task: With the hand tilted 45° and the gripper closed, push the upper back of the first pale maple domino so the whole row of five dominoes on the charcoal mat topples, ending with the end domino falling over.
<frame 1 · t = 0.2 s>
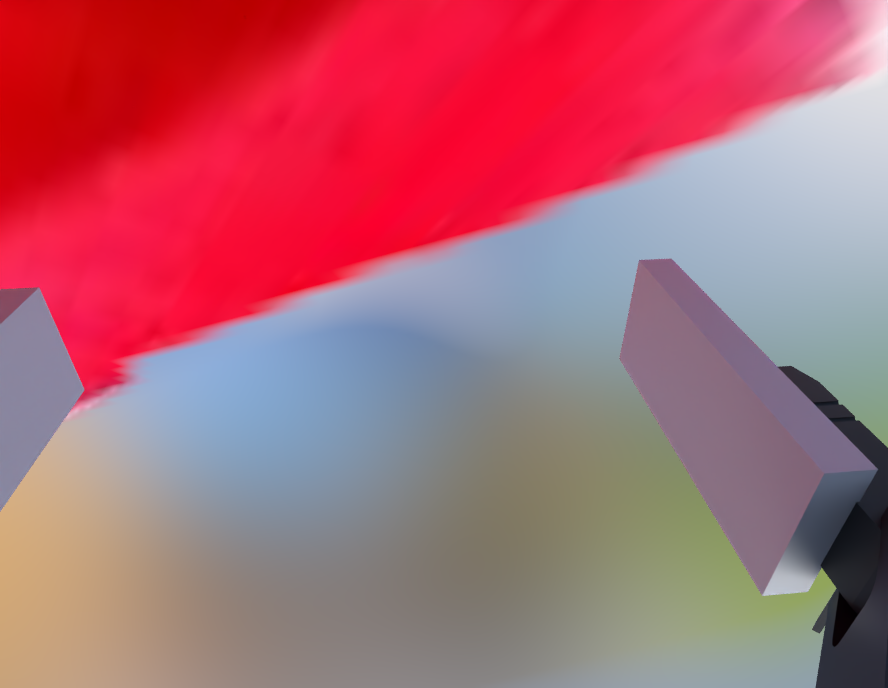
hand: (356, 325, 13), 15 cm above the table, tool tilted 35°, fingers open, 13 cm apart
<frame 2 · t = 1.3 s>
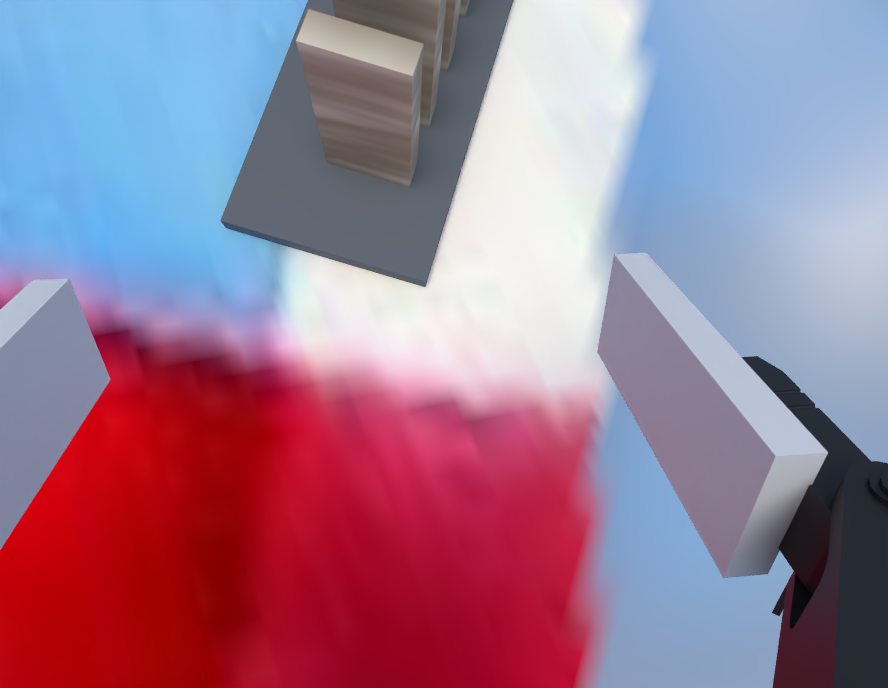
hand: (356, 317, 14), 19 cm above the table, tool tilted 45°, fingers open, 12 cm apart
domino 3: (411, 49, 35), point 1 cm above the table, touching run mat
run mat: (400, 42, 37), on the table
domino 1: (372, 163, 34), point 1 cm above the table, touching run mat
domino 2: (392, 104, 35), point 1 cm above the table, touching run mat
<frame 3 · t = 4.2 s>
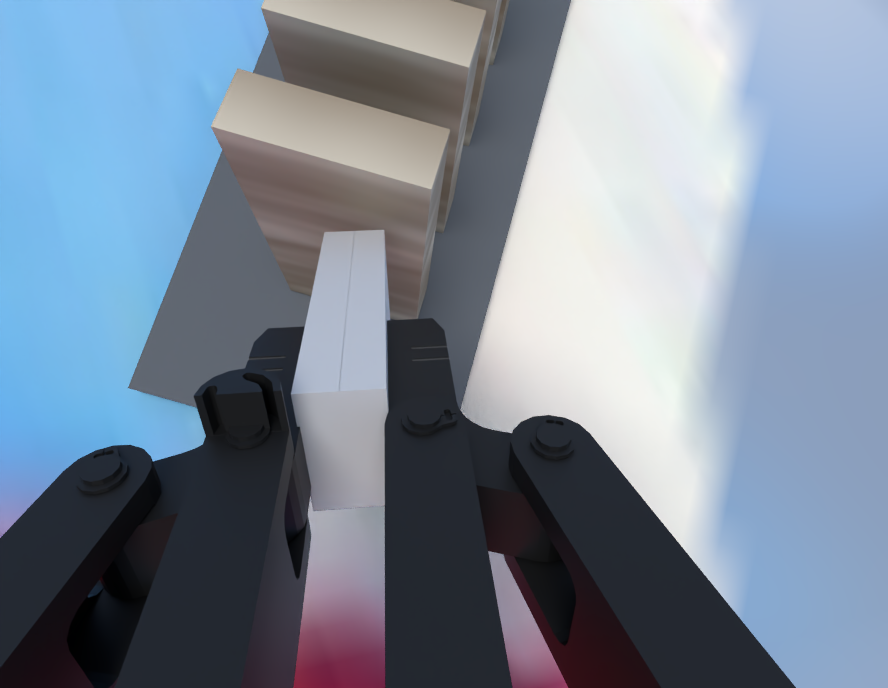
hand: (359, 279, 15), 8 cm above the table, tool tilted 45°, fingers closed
domino 3: (416, 113, 24), point 1 cm above the table, touching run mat
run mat: (400, 100, 25), on the table
domino 4: (441, 33, 25), point 1 cm above the table, touching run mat
domino 1: (359, 289, 22), point 1 cm above the table, touching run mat
domino 2: (389, 198, 23), point 1 cm above the table, touching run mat
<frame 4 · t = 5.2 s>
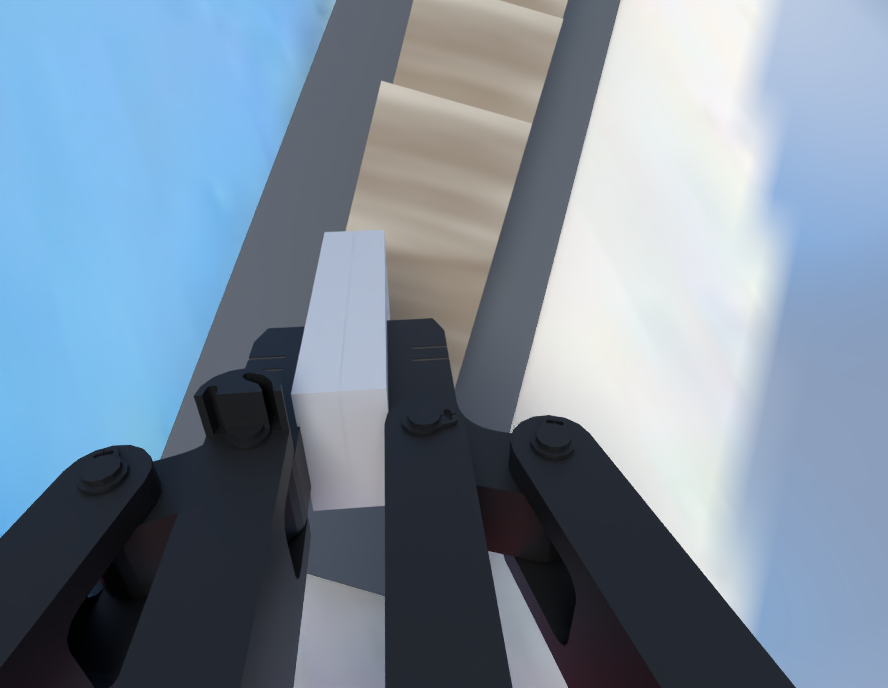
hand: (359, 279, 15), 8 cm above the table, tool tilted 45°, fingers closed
domino 3: (443, 191, 23), point 2 cm above the table, tilted 66°, touching domino 2, domino 4, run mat
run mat: (418, 206, 25), on the table
domino 1: (383, 386, 21), point 2 cm above the table, tilted 66°, touching domino 2, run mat
domino 2: (414, 284, 22), point 2 cm above the table, tilted 66°, touching domino 1, domino 3, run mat
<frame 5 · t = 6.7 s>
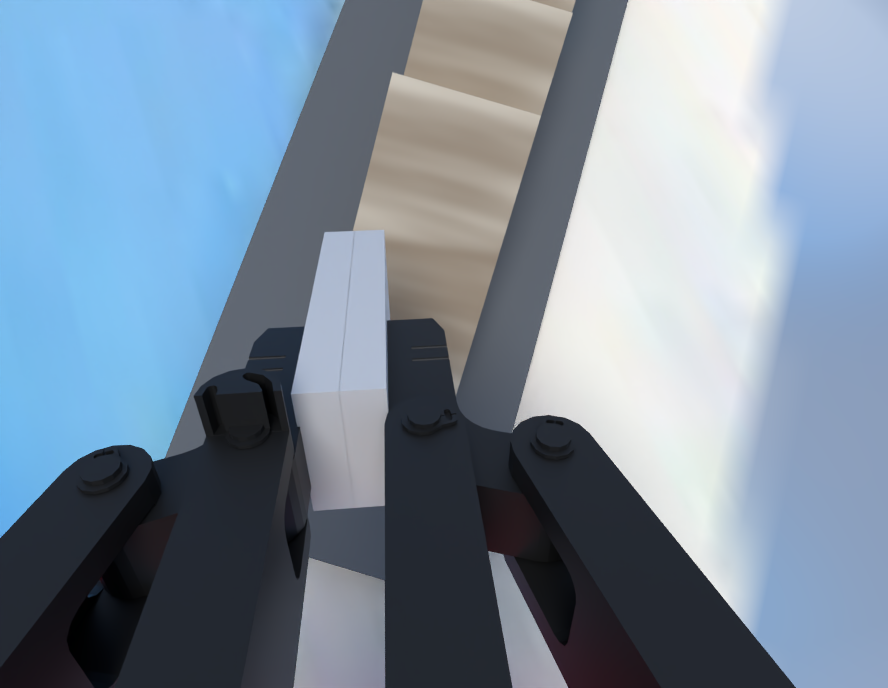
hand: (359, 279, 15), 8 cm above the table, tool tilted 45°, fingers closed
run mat: (426, 198, 25), on the table
domino 1: (390, 375, 21), point 2 cm above the table, tilted 66°, touching domino 2, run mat
domino 2: (422, 275, 22), point 2 cm above the table, tilted 66°, touching domino 1, domino 3, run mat
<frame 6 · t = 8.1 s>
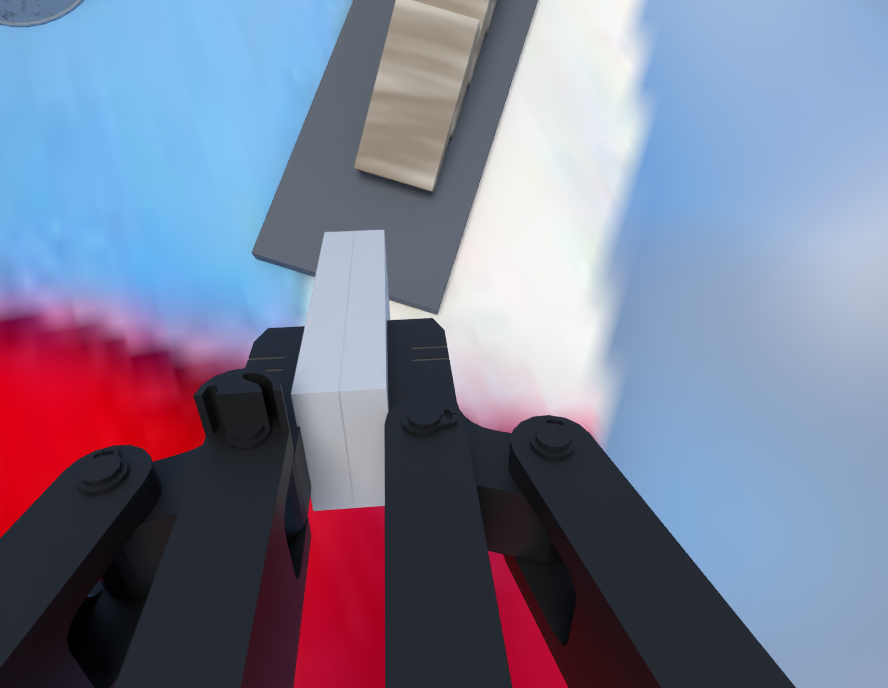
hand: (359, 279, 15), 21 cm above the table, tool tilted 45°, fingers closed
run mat: (417, 87, 40), on the table
domino 1: (394, 180, 36), point 2 cm above the table, tilted 66°, touching domino 2, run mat
domino 2: (414, 125, 37), point 2 cm above the table, tilted 66°, touching domino 1, domino 3, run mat
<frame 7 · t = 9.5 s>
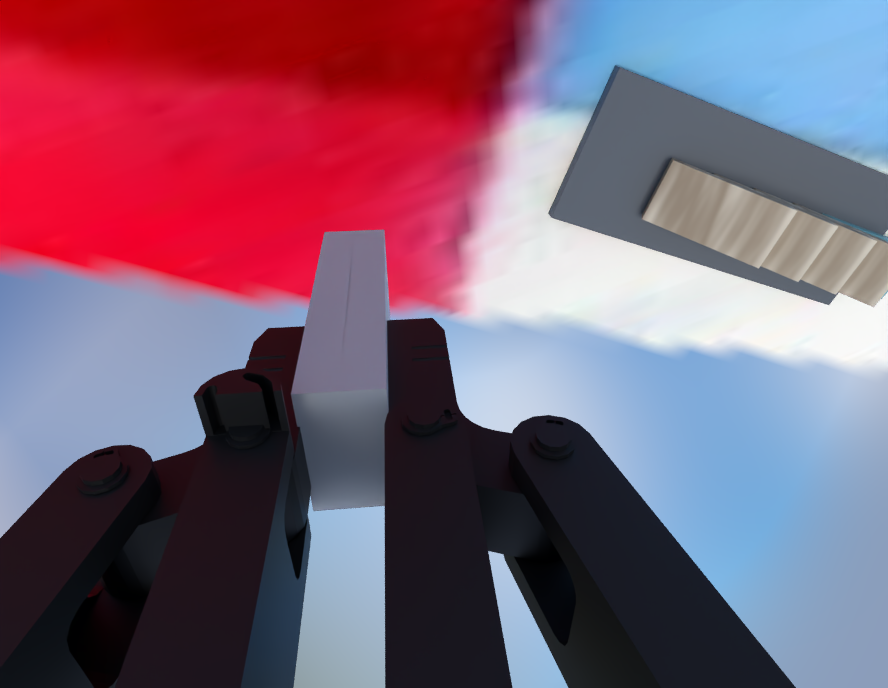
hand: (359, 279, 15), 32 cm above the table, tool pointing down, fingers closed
domino 3: (738, 216, 49), point 2 cm above the table, tilted 66°, touching domino 2, domino 4, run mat
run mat: (732, 198, 50), on the table
domino 4: (777, 230, 50), point 2 cm above the table, tilted 66°, touching domino 3, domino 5
domino 1: (656, 188, 47), point 2 cm above the table, tilted 66°, touching domino 2, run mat
domino 2: (698, 203, 48), point 2 cm above the table, tilted 66°, touching domino 1, domino 3, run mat
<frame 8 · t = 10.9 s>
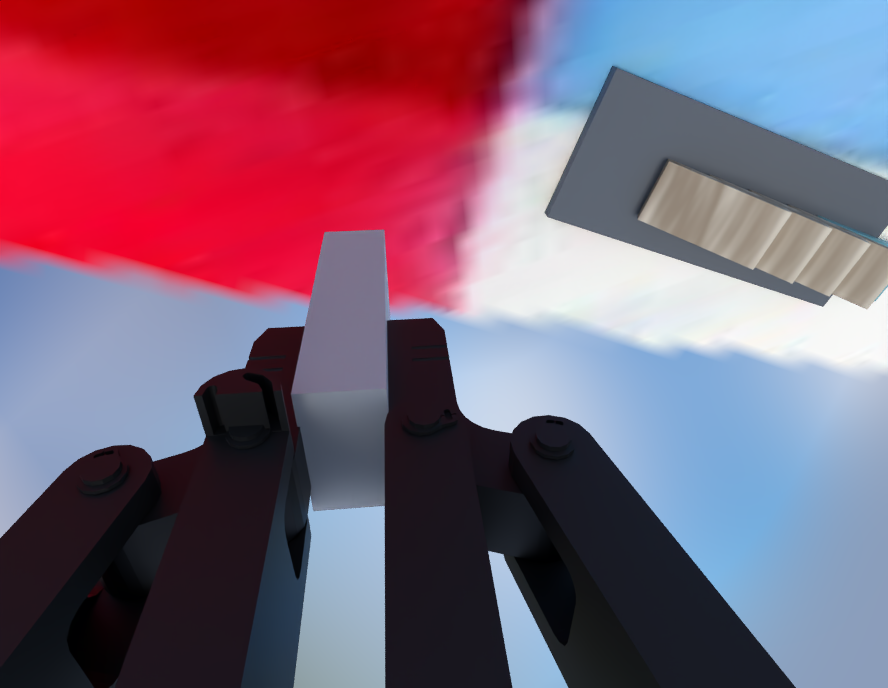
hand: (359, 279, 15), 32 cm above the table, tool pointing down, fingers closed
domino 3: (733, 218, 49), point 2 cm above the table, tilted 66°, touching domino 2, domino 4, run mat
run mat: (728, 200, 50), on the table
domino 4: (772, 232, 50), point 2 cm above the table, tilted 66°, touching domino 3, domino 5
domino 1: (652, 189, 47), point 2 cm above the table, tilted 66°, touching domino 2, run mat
domino 2: (694, 204, 48), point 2 cm above the table, tilted 66°, touching domino 1, domino 3, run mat
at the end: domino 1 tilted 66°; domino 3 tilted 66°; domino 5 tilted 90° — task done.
